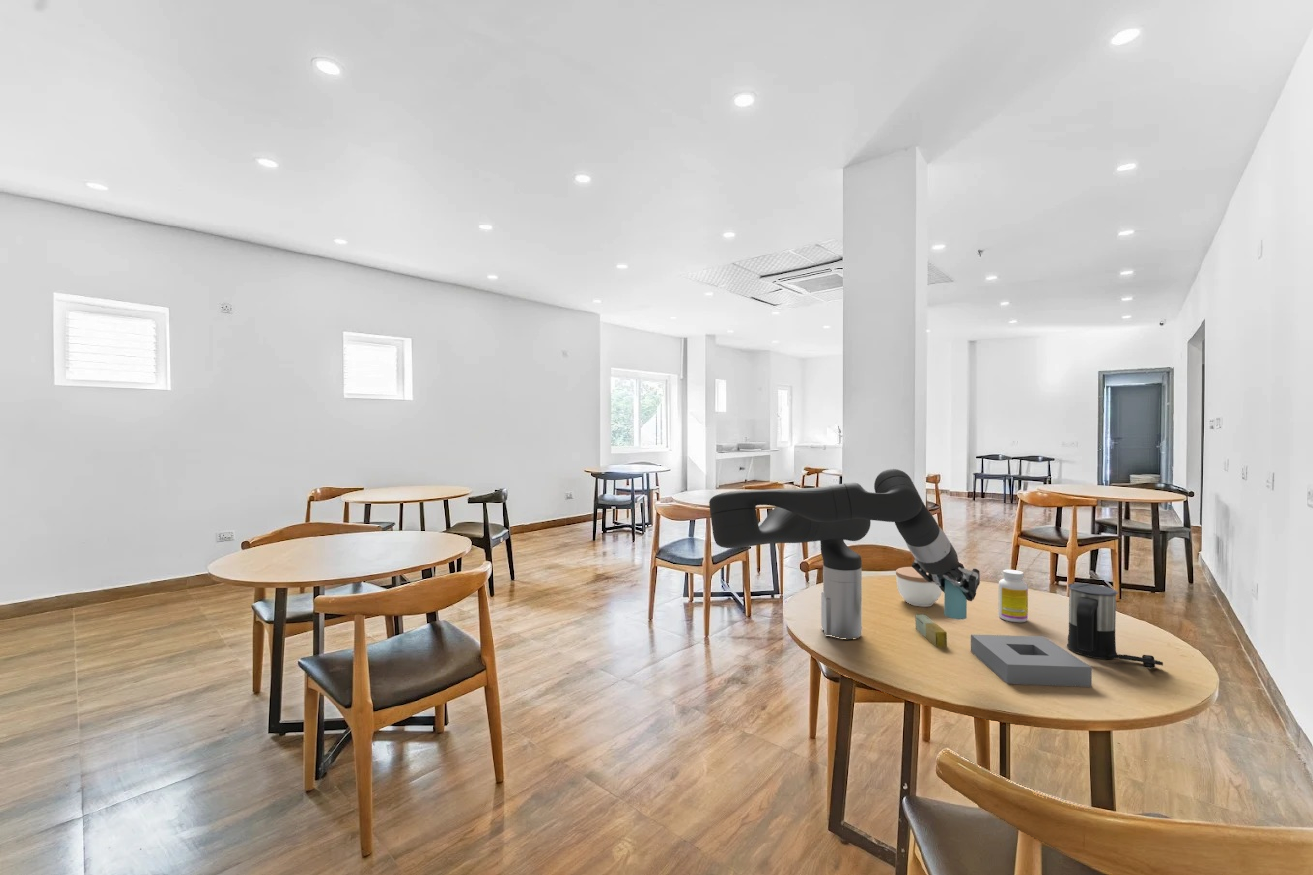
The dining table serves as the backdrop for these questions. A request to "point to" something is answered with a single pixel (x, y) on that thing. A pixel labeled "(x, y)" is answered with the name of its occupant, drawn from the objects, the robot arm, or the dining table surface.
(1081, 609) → the milk frother
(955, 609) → the peg
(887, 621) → the dining table surface
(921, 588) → the lidded bowl
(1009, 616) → the supplement bottle
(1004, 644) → the socket block
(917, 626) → the medication box
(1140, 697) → the dining table surface
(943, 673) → the dining table surface
